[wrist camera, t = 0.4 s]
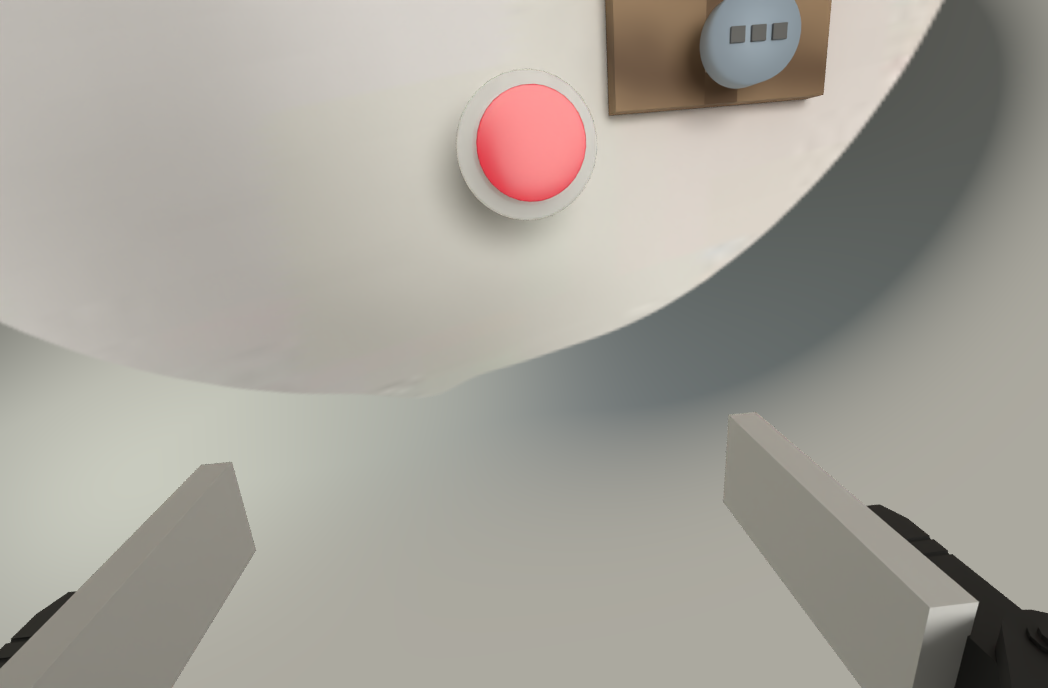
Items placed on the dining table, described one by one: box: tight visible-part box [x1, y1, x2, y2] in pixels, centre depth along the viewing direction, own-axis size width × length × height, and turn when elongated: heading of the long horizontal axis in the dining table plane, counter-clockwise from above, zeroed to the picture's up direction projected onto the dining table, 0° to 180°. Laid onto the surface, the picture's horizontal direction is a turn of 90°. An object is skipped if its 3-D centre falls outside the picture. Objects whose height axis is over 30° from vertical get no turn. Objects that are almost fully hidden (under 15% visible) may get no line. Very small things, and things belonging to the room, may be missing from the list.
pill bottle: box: [456, 69, 597, 220], centre depth 31 cm, size 8×8×11 cm
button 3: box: [700, 0, 801, 89], centre depth 31 cm, size 5×5×4 cm
